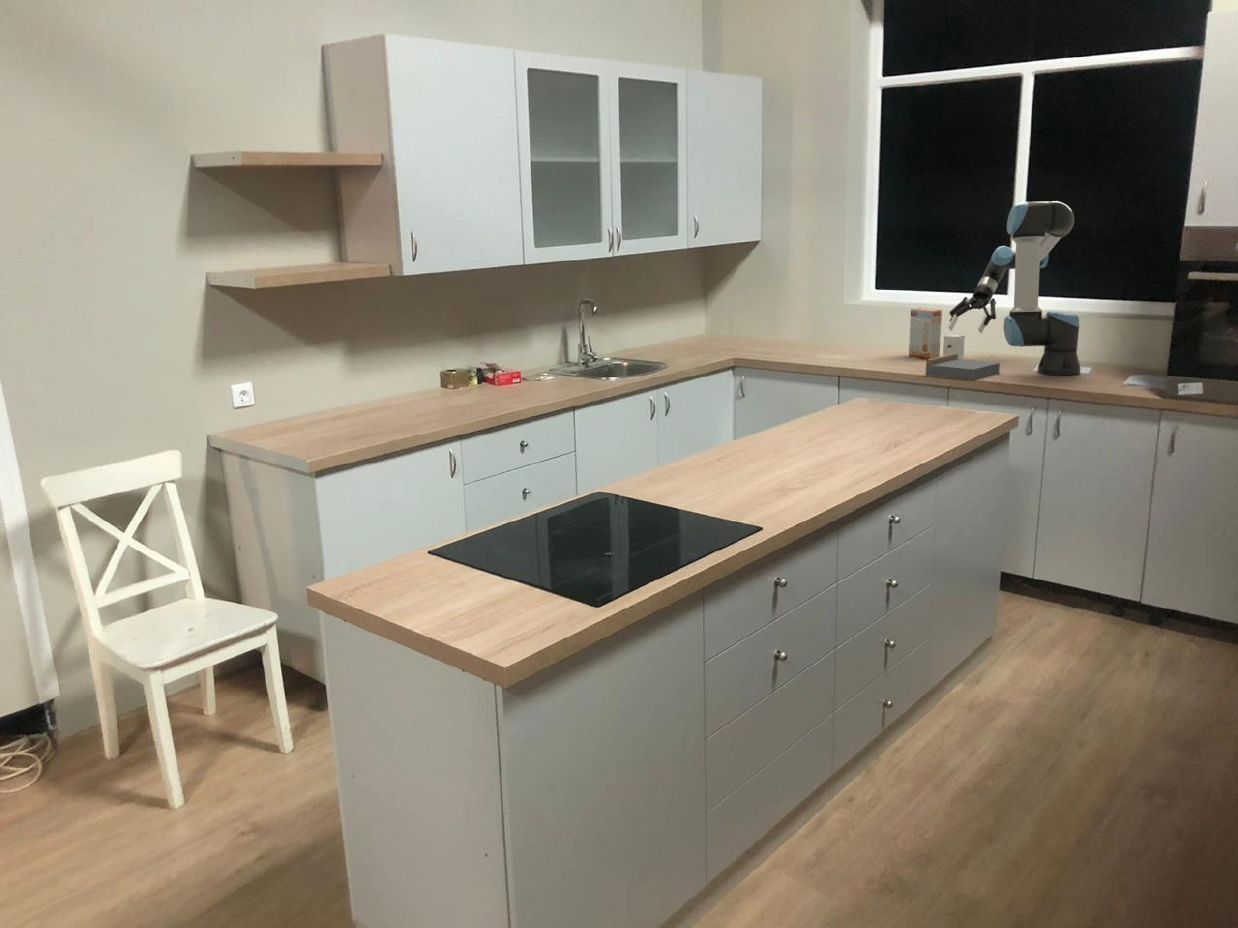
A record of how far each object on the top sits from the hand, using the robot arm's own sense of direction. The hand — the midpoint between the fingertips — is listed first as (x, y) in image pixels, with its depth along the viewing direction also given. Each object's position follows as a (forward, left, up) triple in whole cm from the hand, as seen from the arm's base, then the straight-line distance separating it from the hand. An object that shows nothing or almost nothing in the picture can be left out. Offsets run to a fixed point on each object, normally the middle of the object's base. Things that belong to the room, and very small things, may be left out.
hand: (964, 329), depth 410 cm
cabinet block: (-1, +9, -13) cm, 16 cm away
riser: (-16, +28, -13) cm, 35 cm away
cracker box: (+19, -2, -14) cm, 24 cm away
